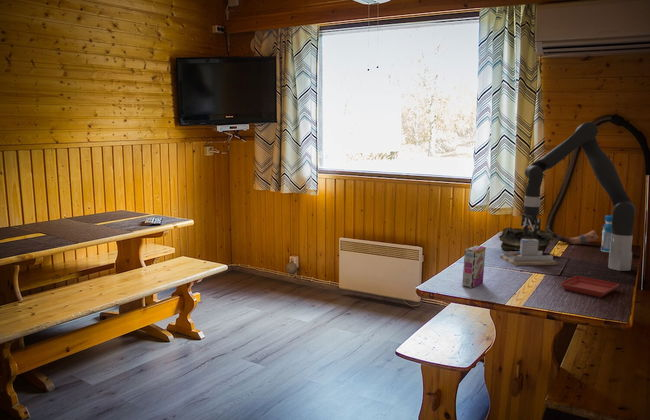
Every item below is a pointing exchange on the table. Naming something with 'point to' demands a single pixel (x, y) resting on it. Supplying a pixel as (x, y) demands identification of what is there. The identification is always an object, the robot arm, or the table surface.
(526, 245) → the medicine box
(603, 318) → the table surface
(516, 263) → the rail board
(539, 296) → the table surface
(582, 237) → the drinking horn
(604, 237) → the beverage bottle
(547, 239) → the hollow geode rock
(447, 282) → the table surface
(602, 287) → the plant saucer
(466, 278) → the candy bar box
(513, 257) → the rail
